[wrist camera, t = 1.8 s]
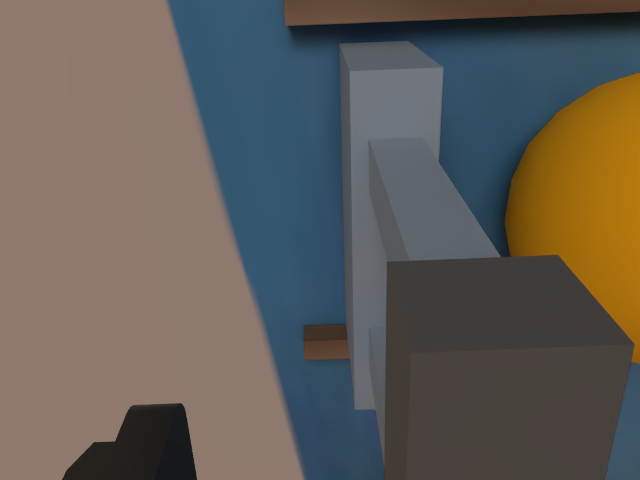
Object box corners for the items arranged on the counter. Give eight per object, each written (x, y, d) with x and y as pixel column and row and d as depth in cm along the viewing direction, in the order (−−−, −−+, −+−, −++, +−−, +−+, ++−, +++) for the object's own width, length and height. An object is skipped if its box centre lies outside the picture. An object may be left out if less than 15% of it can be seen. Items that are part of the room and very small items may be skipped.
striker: (338, 43, 17) (414, 241, 5) (407, 40, 17) (659, 231, 5) (345, 314, 21) (395, 808, 9) (401, 312, 21) (531, 804, 9)
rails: (284, -7, 17) (283, -6, 16) (882, -32, 17) (915, -32, 16) (304, 344, 22) (304, 360, 21) (764, 325, 22) (784, 341, 21)
